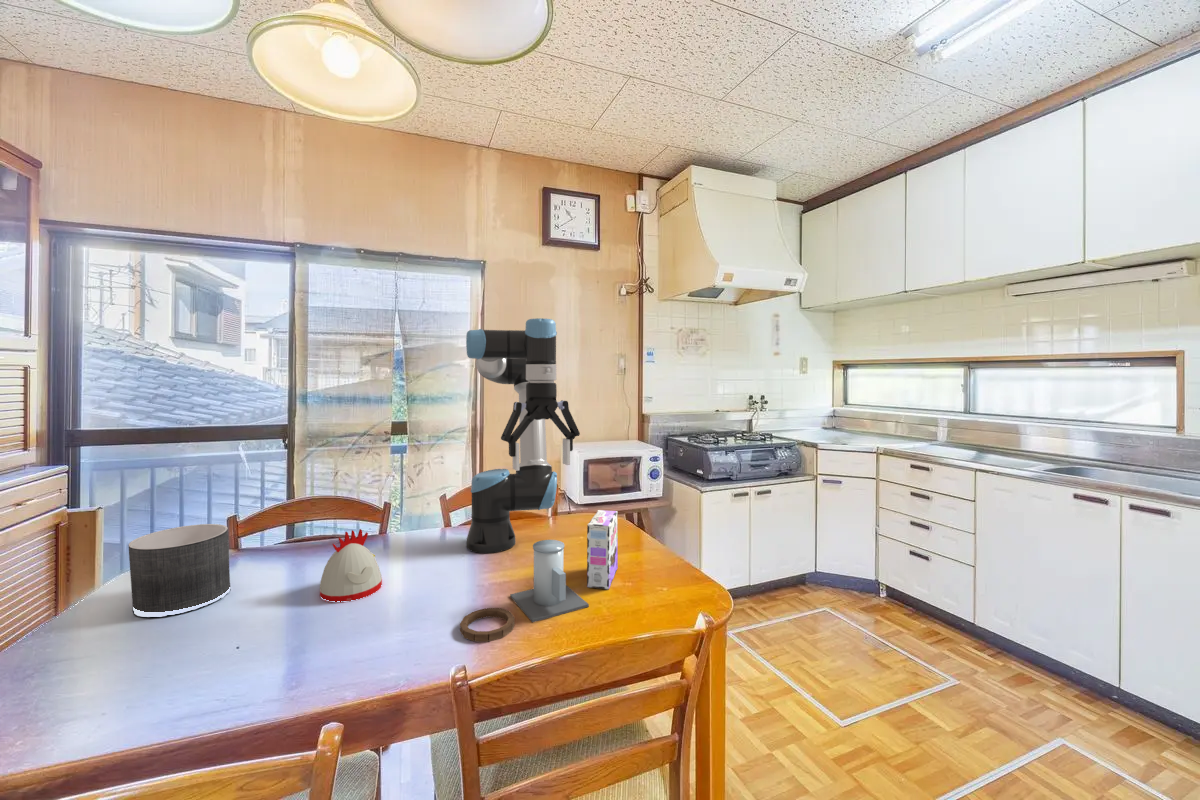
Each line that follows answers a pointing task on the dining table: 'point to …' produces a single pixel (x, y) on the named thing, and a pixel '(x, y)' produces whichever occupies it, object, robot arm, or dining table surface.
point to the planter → (179, 567)
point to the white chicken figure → (350, 571)
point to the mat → (543, 612)
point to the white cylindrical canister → (549, 573)
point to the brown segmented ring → (487, 635)
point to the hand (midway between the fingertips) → (541, 467)
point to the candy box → (602, 549)
